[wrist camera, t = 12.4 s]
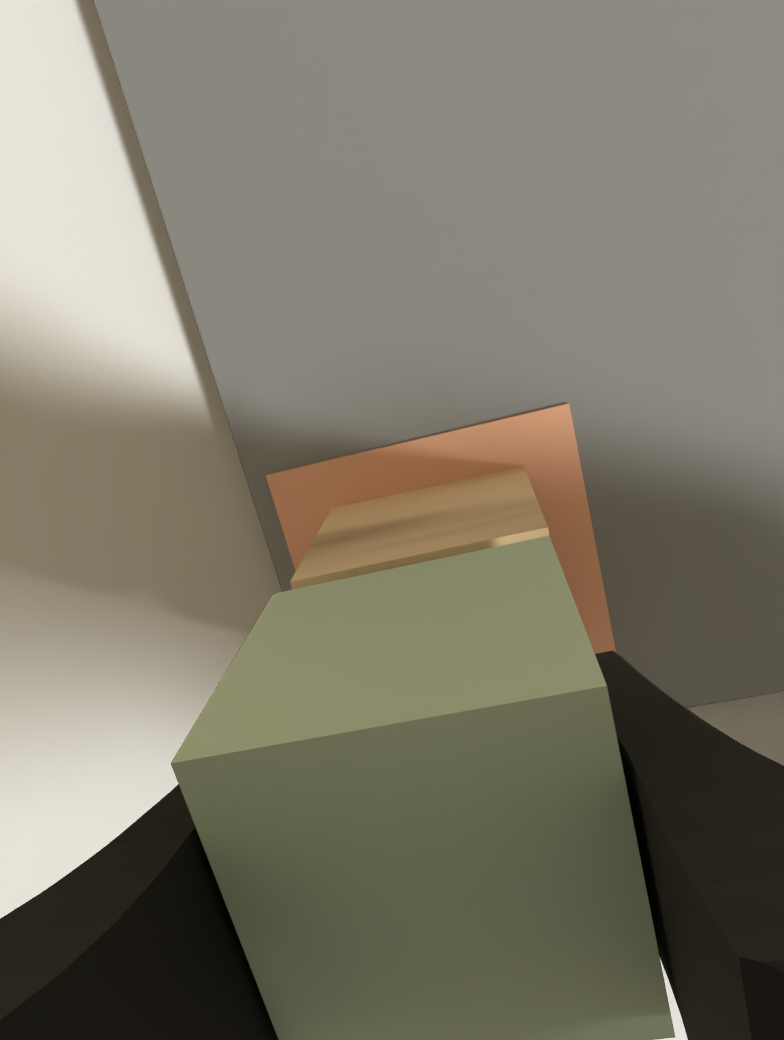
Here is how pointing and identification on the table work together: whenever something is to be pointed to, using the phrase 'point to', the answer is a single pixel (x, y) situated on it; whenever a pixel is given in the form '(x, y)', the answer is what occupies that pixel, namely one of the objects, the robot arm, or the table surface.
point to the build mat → (498, 280)
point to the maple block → (423, 526)
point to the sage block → (428, 811)
